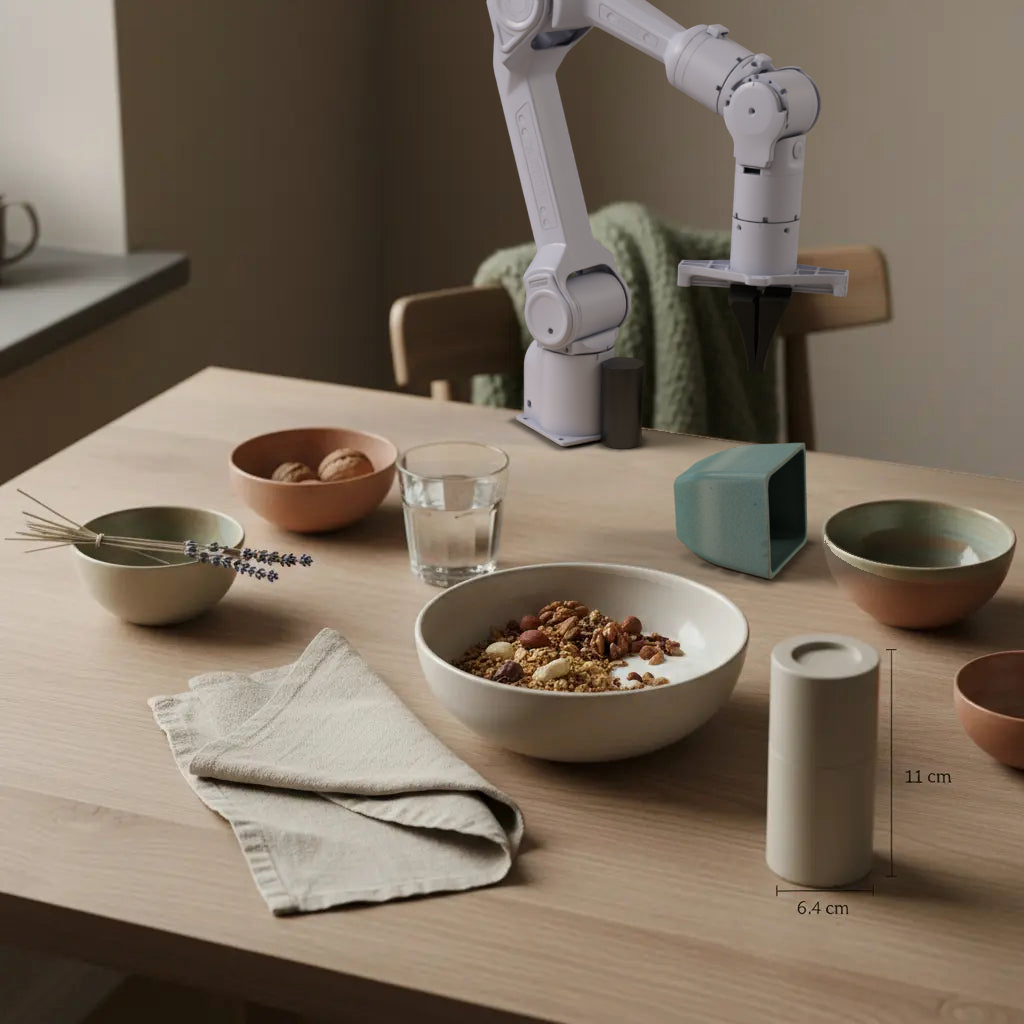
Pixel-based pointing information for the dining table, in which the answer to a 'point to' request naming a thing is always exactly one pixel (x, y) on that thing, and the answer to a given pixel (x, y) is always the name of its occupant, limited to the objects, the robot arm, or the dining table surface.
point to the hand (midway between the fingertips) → (756, 369)
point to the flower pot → (745, 507)
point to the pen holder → (621, 402)
